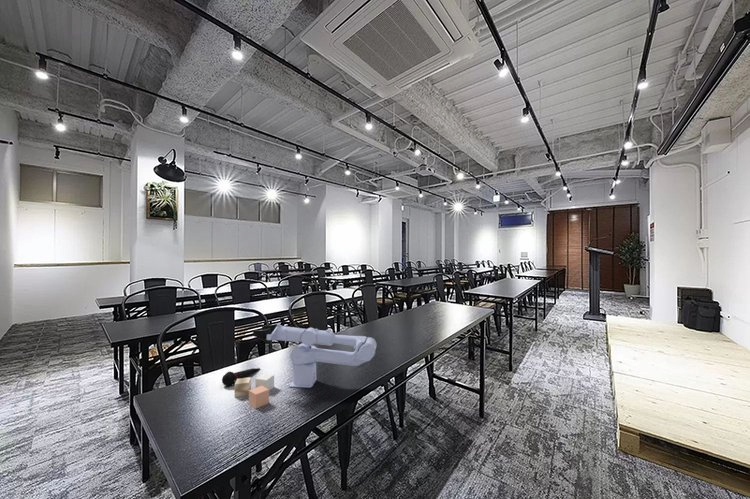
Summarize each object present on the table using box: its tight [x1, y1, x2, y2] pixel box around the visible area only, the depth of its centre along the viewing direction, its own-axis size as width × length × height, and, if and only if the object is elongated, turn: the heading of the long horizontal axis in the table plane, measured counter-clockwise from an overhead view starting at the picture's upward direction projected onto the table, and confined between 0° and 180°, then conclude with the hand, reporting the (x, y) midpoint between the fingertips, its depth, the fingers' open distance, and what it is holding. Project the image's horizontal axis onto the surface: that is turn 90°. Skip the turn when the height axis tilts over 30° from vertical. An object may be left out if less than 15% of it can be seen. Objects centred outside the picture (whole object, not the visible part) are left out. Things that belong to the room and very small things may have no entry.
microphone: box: [221, 367, 261, 387], centre depth 126 cm, size 6×6×20 cm
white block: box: [255, 373, 275, 392], centre depth 115 cm, size 5×5×5 cm
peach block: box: [248, 386, 270, 409], centre depth 104 cm, size 5×5×5 cm
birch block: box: [234, 376, 252, 398], centre depth 111 cm, size 5×5×5 cm
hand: (257, 330), depth 122 cm, fingers open, 7 cm apart
